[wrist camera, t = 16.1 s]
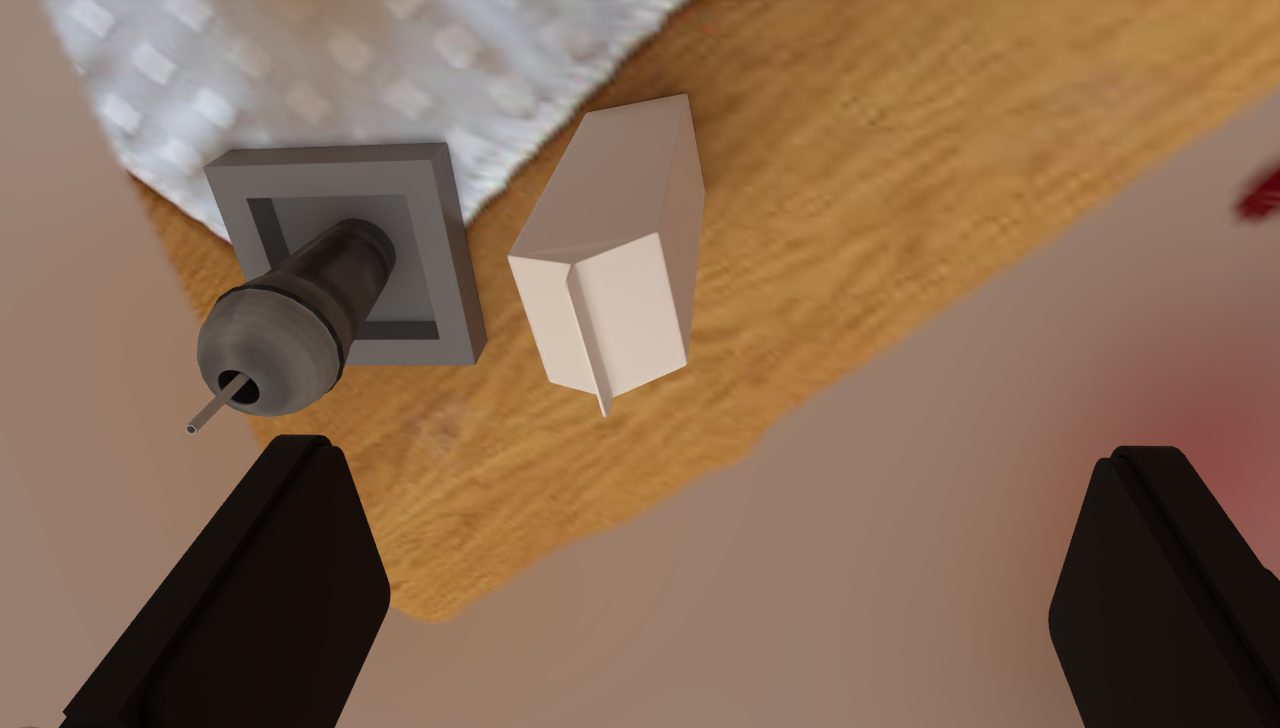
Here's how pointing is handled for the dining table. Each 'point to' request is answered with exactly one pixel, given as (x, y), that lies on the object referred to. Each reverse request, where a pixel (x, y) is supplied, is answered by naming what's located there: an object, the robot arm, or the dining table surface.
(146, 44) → the dining table surface
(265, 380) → the beverage cup
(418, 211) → the tray
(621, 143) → the milk
